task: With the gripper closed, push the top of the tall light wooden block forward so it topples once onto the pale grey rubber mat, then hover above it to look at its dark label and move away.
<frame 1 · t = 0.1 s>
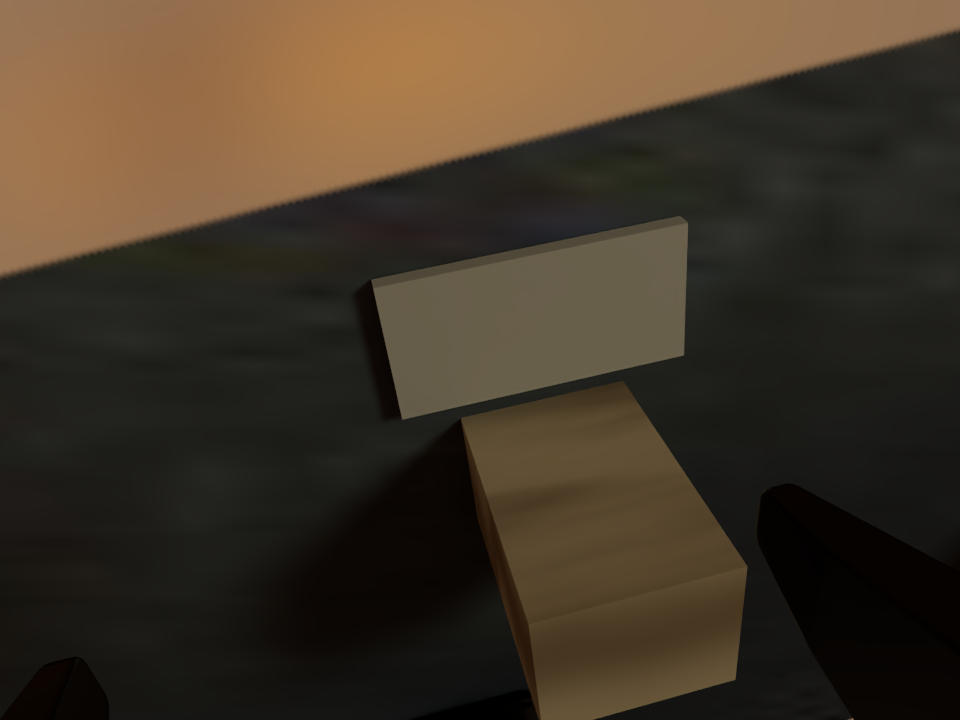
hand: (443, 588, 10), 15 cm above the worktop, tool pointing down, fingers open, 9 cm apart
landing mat: (535, 315, 26), on the worktop
wooden block: (547, 452, 29), on the worktop
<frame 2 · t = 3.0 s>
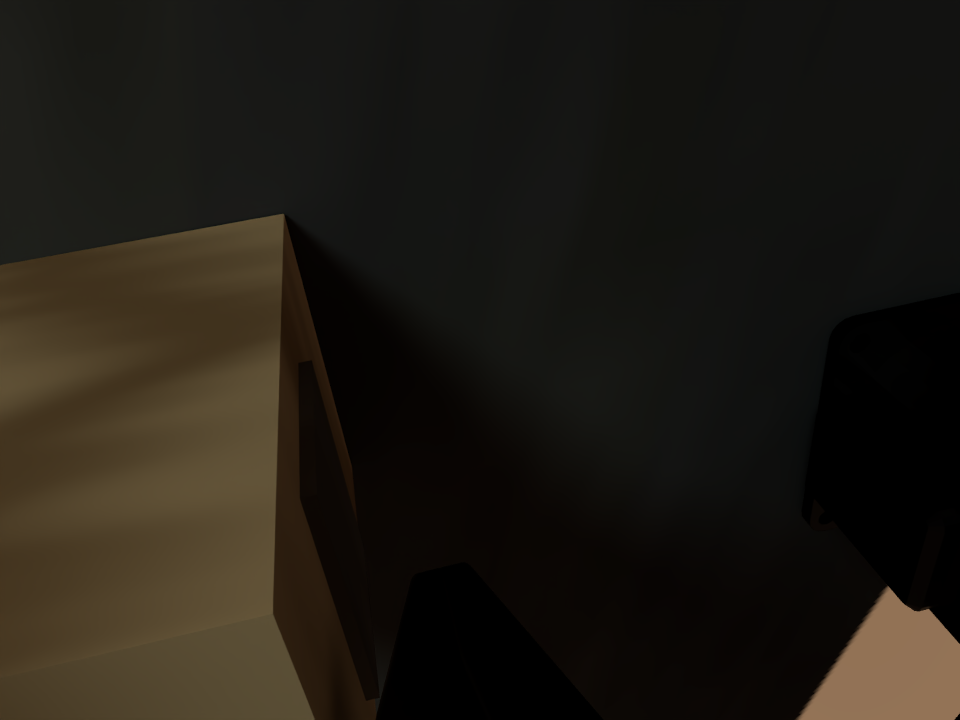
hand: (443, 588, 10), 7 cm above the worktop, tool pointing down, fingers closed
wooden block: (194, 379, 15), on the worktop, touching gripper
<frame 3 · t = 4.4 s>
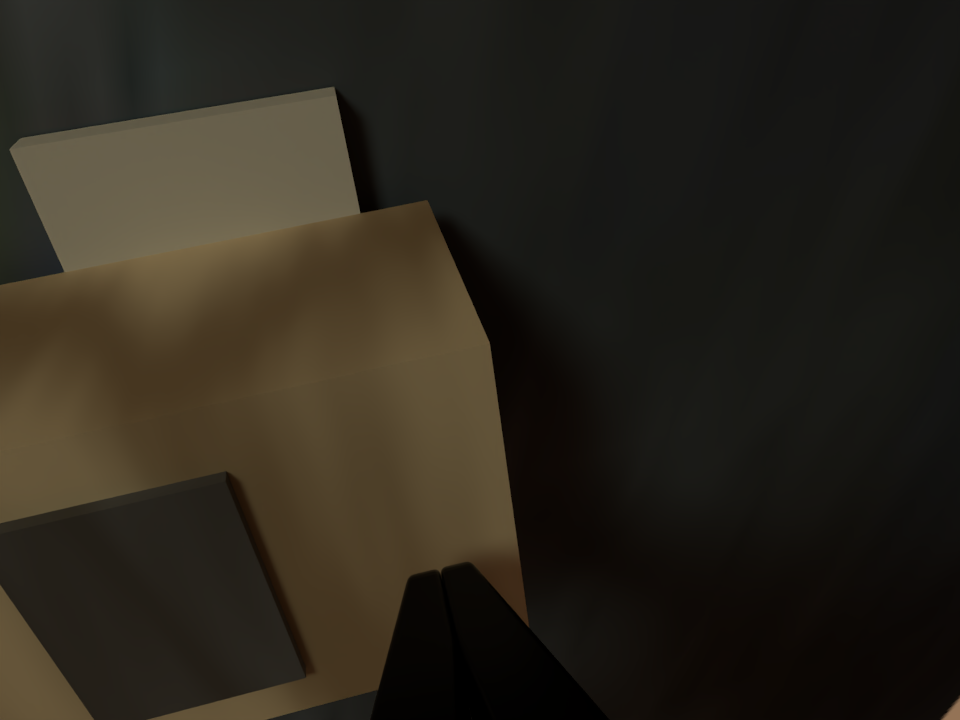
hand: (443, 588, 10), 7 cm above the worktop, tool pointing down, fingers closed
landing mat: (261, 366, 15), on the worktop
wooden block: (477, 417, 13), point 3 cm above the worktop, tilted 90°, touching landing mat
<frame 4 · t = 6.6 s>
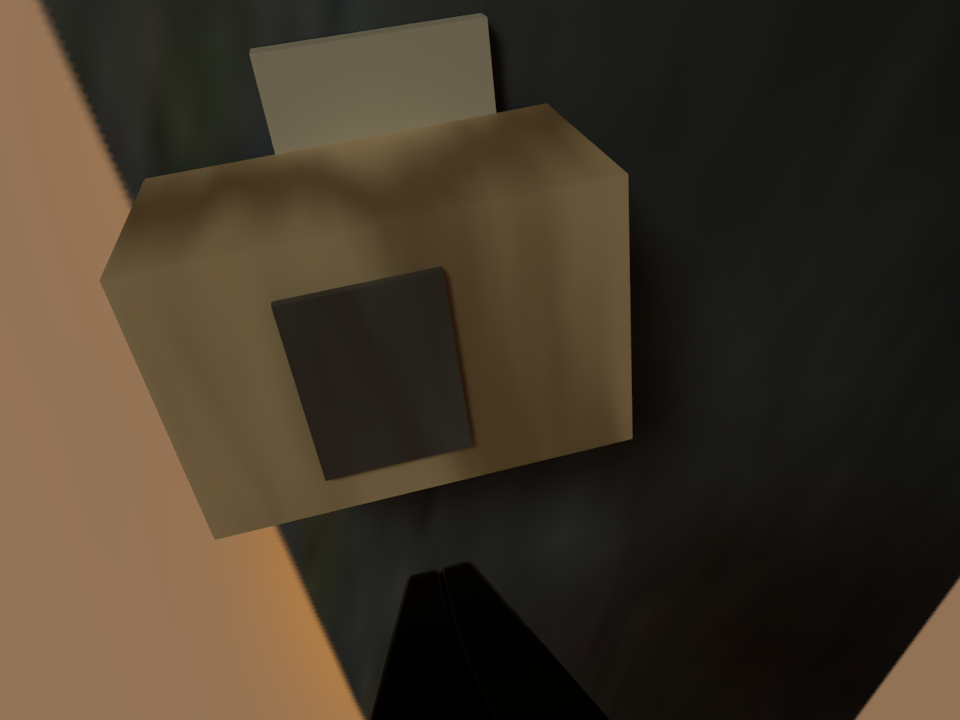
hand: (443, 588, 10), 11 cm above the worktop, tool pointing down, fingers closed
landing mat: (405, 243, 19), on the worktop
wooden block: (588, 267, 17), point 3 cm above the worktop, tilted 90°, touching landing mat
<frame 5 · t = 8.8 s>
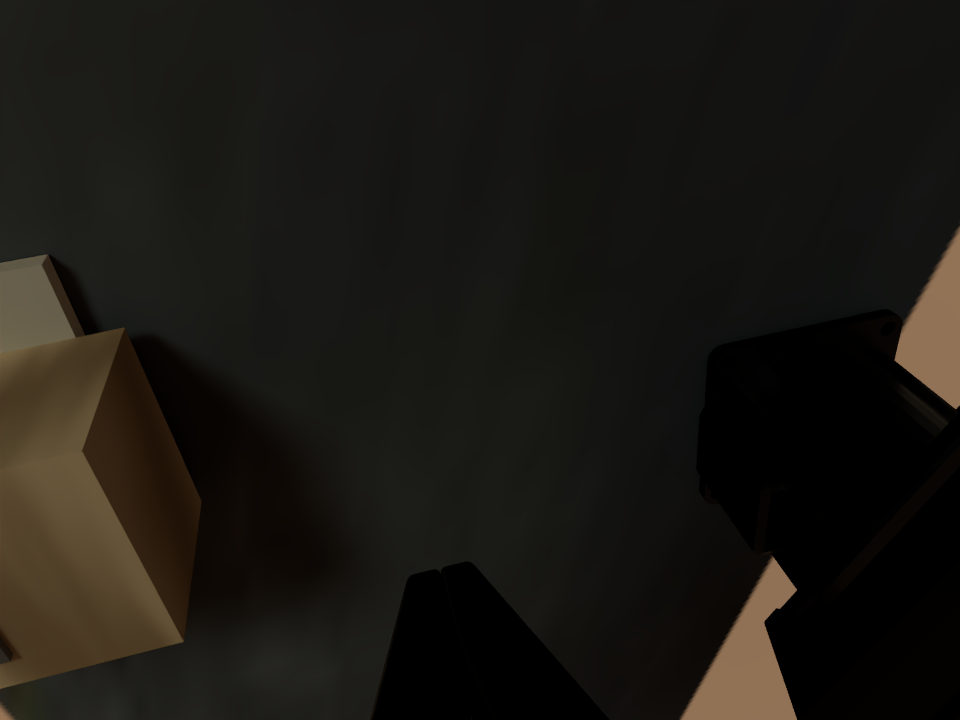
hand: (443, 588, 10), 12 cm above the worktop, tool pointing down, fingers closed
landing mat: (28, 437, 21), on the worktop
wooden block: (153, 481, 19), point 3 cm above the worktop, tilted 90°, touching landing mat
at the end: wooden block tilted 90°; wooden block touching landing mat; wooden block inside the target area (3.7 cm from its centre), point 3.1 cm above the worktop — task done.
